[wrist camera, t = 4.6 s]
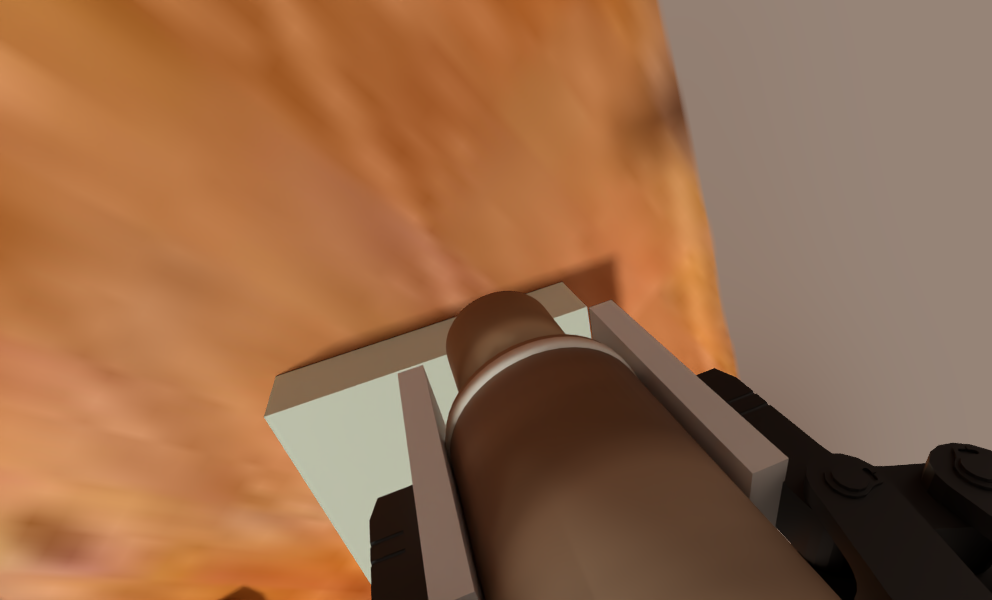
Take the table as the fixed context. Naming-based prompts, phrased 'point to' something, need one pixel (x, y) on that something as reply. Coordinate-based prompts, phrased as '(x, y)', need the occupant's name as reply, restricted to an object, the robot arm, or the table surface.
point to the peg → (594, 476)
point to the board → (372, 417)
